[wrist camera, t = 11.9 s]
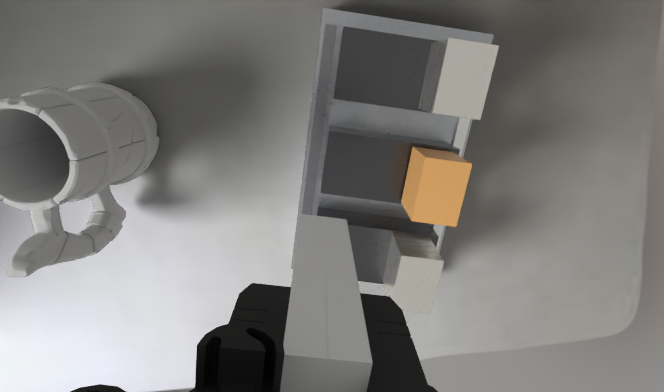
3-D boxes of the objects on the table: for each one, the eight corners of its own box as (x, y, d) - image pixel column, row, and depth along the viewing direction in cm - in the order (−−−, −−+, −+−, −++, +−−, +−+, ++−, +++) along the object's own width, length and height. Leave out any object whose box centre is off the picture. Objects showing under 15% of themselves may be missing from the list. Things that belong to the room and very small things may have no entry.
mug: (157, 81, 29) (45, 85, 18) (175, 225, 33) (92, 305, 21) (57, 81, 29) (-119, 84, 18) (86, 224, 33) (-45, 304, 21)
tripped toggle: (401, 202, 27) (411, 221, 23) (412, 146, 25) (425, 157, 22) (440, 207, 27) (456, 226, 23) (453, 152, 26) (472, 163, 22)
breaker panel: (293, 257, 34) (281, 316, 26) (323, 12, 28) (321, -15, 20) (425, 274, 34) (455, 336, 26) (482, 37, 28) (545, 21, 20)
